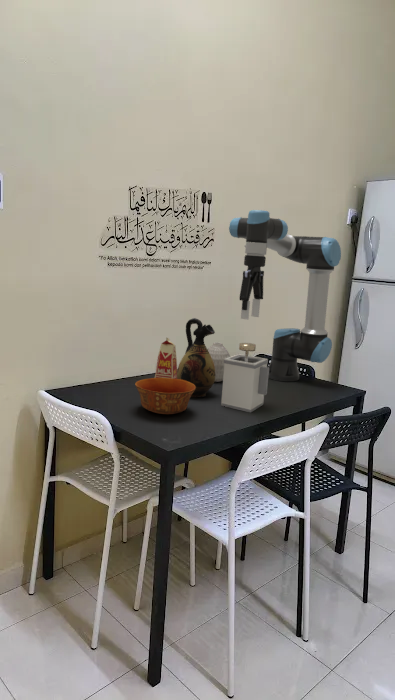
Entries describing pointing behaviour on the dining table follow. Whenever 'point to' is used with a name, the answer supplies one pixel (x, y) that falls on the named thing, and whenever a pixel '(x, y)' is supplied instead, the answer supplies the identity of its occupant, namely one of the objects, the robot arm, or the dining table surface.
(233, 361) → the box
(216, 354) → the vase
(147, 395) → the bowl
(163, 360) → the milk carton
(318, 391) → the dining table surface
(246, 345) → the plunger
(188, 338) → the ceramic jug
